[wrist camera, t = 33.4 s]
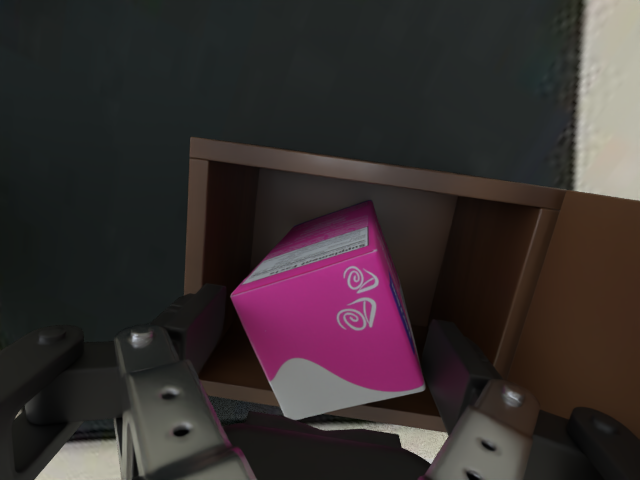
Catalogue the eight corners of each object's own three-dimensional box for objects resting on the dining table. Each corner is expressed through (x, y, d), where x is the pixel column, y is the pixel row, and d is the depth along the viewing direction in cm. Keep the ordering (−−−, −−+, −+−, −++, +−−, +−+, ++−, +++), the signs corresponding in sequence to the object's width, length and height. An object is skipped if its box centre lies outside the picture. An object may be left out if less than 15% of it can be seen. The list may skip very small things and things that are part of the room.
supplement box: (402, 276, 23) (430, 399, 12) (320, 299, 24) (278, 428, 13) (375, 195, 22) (378, 249, 11) (291, 224, 23) (217, 298, 12)
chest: (238, 303, 25) (179, 391, 16) (252, 144, 23) (189, 136, 13) (432, 332, 25) (489, 439, 16) (470, 175, 22) (568, 190, 13)
